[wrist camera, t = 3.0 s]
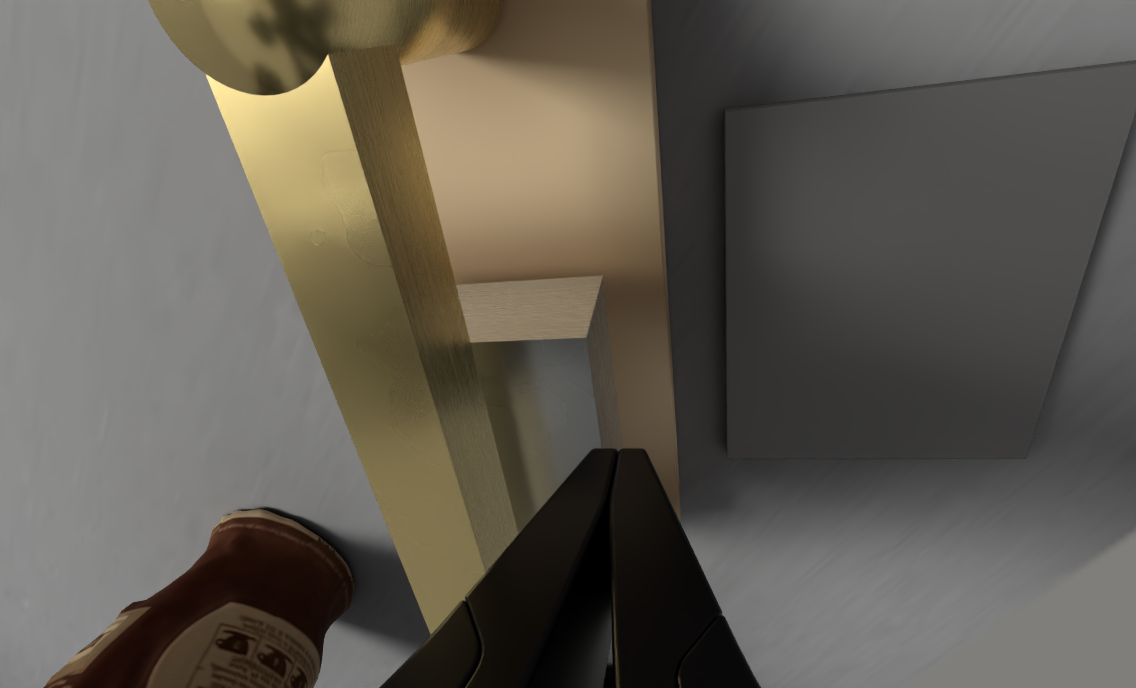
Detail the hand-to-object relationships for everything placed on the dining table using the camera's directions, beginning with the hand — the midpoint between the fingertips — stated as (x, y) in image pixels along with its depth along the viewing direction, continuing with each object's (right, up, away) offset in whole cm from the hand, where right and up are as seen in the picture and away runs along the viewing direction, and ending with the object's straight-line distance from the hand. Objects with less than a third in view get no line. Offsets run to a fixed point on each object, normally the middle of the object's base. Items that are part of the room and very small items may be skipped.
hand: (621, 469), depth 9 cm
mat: (+7, +3, +6) cm, 10 cm away
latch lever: (-2, +4, +4) cm, 6 cm away
